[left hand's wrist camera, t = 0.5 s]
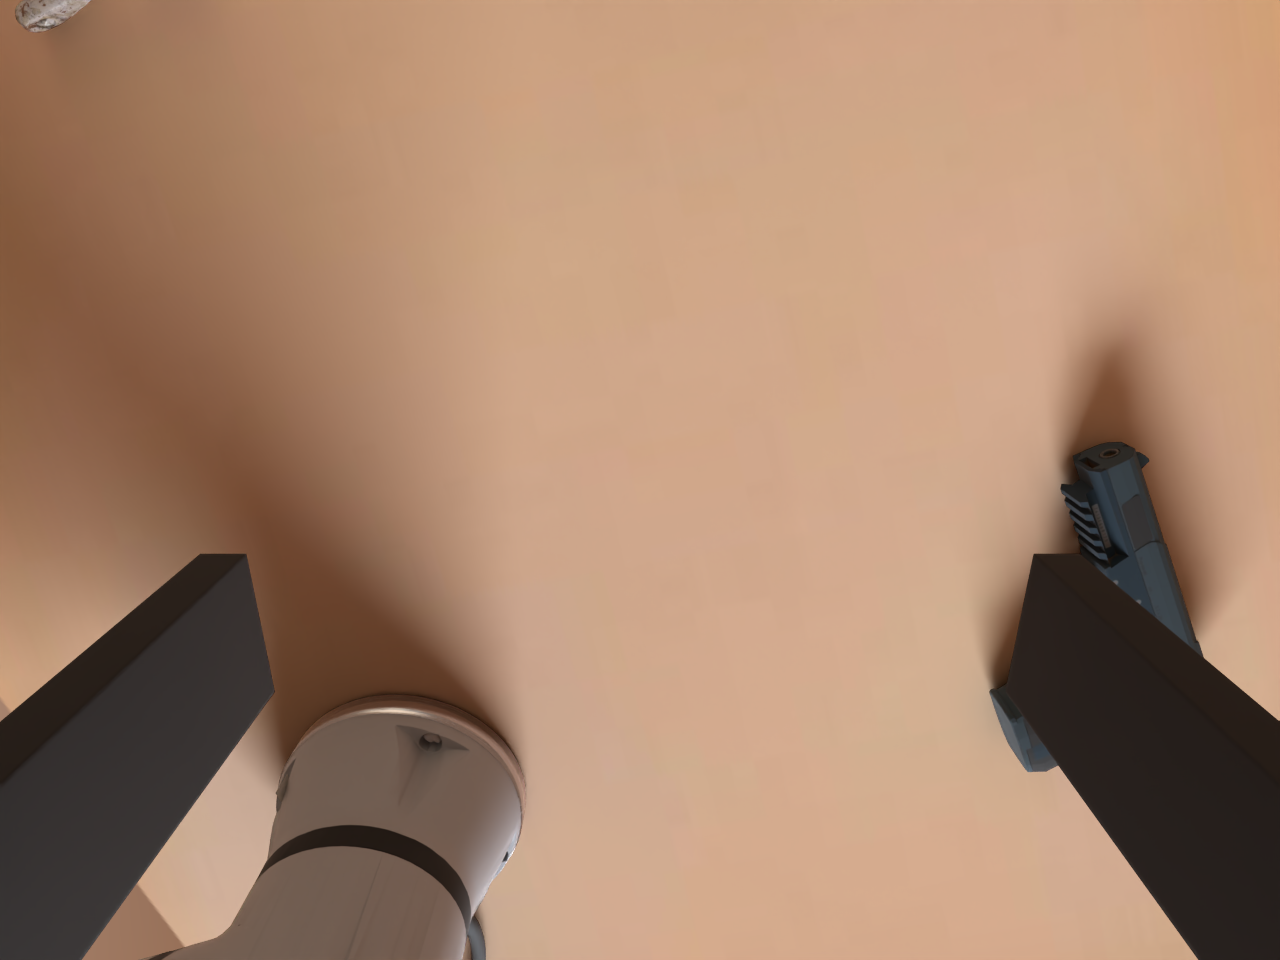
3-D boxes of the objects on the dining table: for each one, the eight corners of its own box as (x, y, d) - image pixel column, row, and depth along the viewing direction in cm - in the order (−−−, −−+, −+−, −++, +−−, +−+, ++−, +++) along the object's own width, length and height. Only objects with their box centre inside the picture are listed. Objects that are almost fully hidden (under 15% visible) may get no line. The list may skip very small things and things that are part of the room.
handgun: (911, 524, 43) (1122, 429, 41) (1009, 749, 48) (1201, 675, 46) (931, 548, 40) (1160, 448, 38) (1033, 785, 45) (1239, 708, 43)
